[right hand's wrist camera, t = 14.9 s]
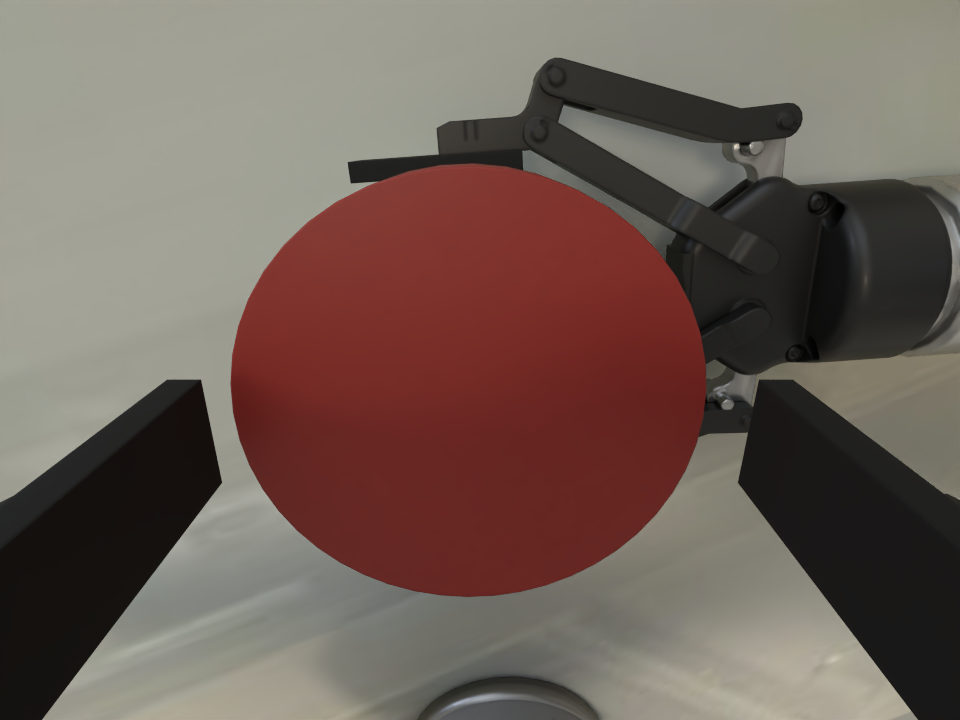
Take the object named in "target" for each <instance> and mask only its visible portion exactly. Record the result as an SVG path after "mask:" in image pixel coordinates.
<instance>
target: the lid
mask: <svg viewBox="0 0 960 720" xmlns="http://www.w3.org/2000/svg"><path fill="white" fill-rule="evenodd" d="M231 394H232V405H233V414H234V418H235V423H236V427H237V431H238V435H239V439H240V442H241V445H242V447H243V450H244V452H245V455H246V458H247V460H248V463H249V465H250V467H251V469H252V471H253V472H254V474H255V476H256V478H257V480H258V482H259V483H260V485H261V487H262V489H263V490H264V492H265V493H266V494H267V496H268V497H269V498H270V500H271V501H272V503H273V504H274V505H275V507H276V508H277V509H278V511H279V512H280V513H281V514H282V515H283V516H284V517H285V518H286V519H287V520H288V521H289V522H290V523H291V525H292V526H293V527H294V528H295V529H296V530H297V531H298V532H299V533H301V534H302V535H303V536H304V537H305V538H307V539H308V540H309V541H310V542H311V543H313V544H314V545H315V546H316V547H317V548H319V549H320V550H322V551H323V552H325V553H326V554H328V555H329V556H331V557H333V558H334V559H336V560H337V561H339V562H340V563H342V564H344V565H346V566H348V567H350V568H352V569H354V570H356V571H358V572H360V573H362V574H364V575H366V576H369V577H371V578H374V579H377V580H379V581H382V582H384V583H387V584H390V585H394V586H397V587H401V588H405V589H409V590H412V591H417V592H424V593H430V594H436V595H445V596H462V597H474V596H495V595H501V594H508V593H515V592H521V591H525V590H529V589H533V588H537V587H541V586H545V585H548V584H551V583H553V582H556V581H559V580H562V579H564V578H567V577H570V576H572V575H574V574H576V573H578V572H580V571H582V570H584V569H586V568H588V567H590V566H592V565H594V564H596V563H598V562H599V561H601V560H602V559H604V558H605V557H607V556H609V555H610V554H612V553H613V552H615V551H616V550H618V549H619V548H620V547H621V546H623V545H624V544H625V543H626V542H628V541H629V540H630V539H631V538H633V537H634V536H635V535H636V534H637V533H638V532H639V531H640V530H641V529H642V528H643V527H644V526H645V525H646V524H647V523H648V522H649V521H650V520H651V519H652V518H653V517H654V516H655V515H656V514H657V513H658V511H659V510H660V509H661V507H662V506H663V505H664V503H665V502H666V501H667V500H668V498H669V497H670V496H671V494H672V493H673V491H674V489H675V488H676V486H677V484H678V482H679V481H680V479H681V477H682V476H683V474H684V472H685V470H686V468H687V466H688V463H689V461H690V458H691V456H692V454H693V451H694V449H695V446H696V443H697V440H698V436H699V432H700V428H701V424H702V421H703V415H704V406H705V398H706V362H705V356H704V351H703V345H702V339H701V334H700V331H699V328H698V325H697V322H696V319H695V316H694V313H693V310H692V307H691V304H690V302H689V300H688V298H687V296H686V294H685V292H684V291H683V289H682V287H681V285H680V283H679V281H678V279H677V277H676V276H675V274H674V273H673V271H672V270H671V269H670V267H669V266H668V265H667V263H666V262H665V260H664V259H663V258H662V256H661V255H660V253H659V252H658V251H657V250H656V249H655V248H654V247H653V246H652V245H651V244H650V243H649V242H648V241H647V240H646V239H645V237H644V236H643V235H642V234H641V233H640V232H639V231H638V230H637V229H636V228H635V227H633V226H632V225H631V224H629V223H628V222H627V221H626V220H624V219H623V218H622V217H620V216H619V215H618V214H616V213H615V212H614V211H612V210H611V209H610V208H609V207H607V206H605V205H603V204H602V203H600V202H598V201H596V200H594V199H593V198H591V197H589V196H587V195H585V194H584V193H582V192H580V191H578V190H576V189H574V188H572V187H569V186H567V185H565V184H562V183H560V182H557V181H554V180H552V179H549V178H547V177H544V176H542V175H539V174H536V173H532V172H527V171H523V170H519V169H515V168H510V167H506V166H495V165H484V164H454V165H439V166H434V167H429V168H423V169H418V170H413V171H408V172H405V173H403V174H400V175H397V176H394V177H391V178H388V179H385V180H382V181H379V182H377V183H374V184H372V185H369V186H367V187H365V188H363V189H361V190H359V191H357V192H355V193H353V194H351V195H349V196H347V197H345V198H343V199H341V200H339V201H337V202H336V203H334V204H333V205H331V206H330V207H328V208H327V209H326V210H324V211H323V212H321V213H320V214H319V215H317V216H316V217H314V218H313V219H311V220H310V221H309V222H307V223H306V224H305V225H304V226H303V227H302V228H301V229H300V230H299V231H298V232H297V233H296V234H295V235H294V236H293V237H292V238H291V239H290V240H289V241H288V242H287V243H285V244H284V246H283V247H282V248H281V249H280V251H279V252H278V253H277V255H276V256H275V257H274V258H273V260H272V261H271V262H270V264H269V265H268V266H267V267H266V269H265V270H264V272H263V274H262V275H261V277H260V279H259V281H258V282H257V284H256V286H255V288H254V290H253V291H252V293H251V295H250V297H249V299H248V302H247V304H246V307H245V310H244V312H243V315H242V318H241V320H240V323H239V326H238V330H237V335H236V340H235V345H234V349H233V354H232V369H231Z"/></svg>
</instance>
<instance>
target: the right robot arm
mask: <svg viewBox="0 0 960 720" xmlns="http://www.w3.org/2000/svg"><path fill="white" fill-rule="evenodd" d="M221 483H222V480H221V475H220V470H219V466H218V461H217V456H216V451H215V446H214V441H213V436H212V431H211V426H210V422H209V417H208V412H207V407H206V402H205V397H204V392H203V387H202V383H201V380H166V381H165V382H164V383H162V384H161V385H160V386H158V387H157V388H156V389H154V390H153V391H152V392H150V393H149V394H148V395H146V396H145V397H144V398H142V399H141V400H140V401H138V402H137V403H136V404H134V405H133V406H132V407H131V408H129V409H128V410H127V411H125V412H124V413H123V414H121V415H120V416H119V417H117V418H116V419H115V420H113V421H112V422H111V423H109V424H108V425H107V426H105V427H104V428H103V429H101V430H100V431H99V432H97V433H96V434H95V435H93V436H92V437H91V438H90V439H88V440H87V441H86V442H84V443H83V444H82V445H80V446H79V447H78V448H76V449H75V450H74V451H72V452H71V453H70V454H68V455H67V456H66V457H64V458H63V459H62V460H60V461H59V462H58V463H56V464H55V465H54V466H53V467H51V468H50V469H49V470H47V471H46V472H45V473H43V474H42V475H41V476H39V477H38V478H37V479H35V480H34V481H33V482H31V483H30V484H29V485H27V486H26V487H25V488H23V489H22V490H21V491H19V492H18V493H17V494H16V495H14V496H12V497H10V498H8V499H6V500H4V501H2V502H0V720H42V719H43V718H44V716H45V715H46V714H47V712H48V711H49V710H50V708H51V707H52V706H53V704H54V703H55V702H56V701H57V699H58V698H59V697H60V695H61V694H62V693H63V691H64V690H65V689H66V687H67V686H68V685H69V683H70V682H71V681H72V679H73V678H74V677H75V675H76V674H77V673H78V672H79V670H80V669H81V668H82V666H83V665H84V664H85V662H86V661H87V660H88V658H89V657H90V656H91V654H92V653H93V652H94V650H95V649H96V648H97V647H98V645H99V644H100V643H101V641H102V640H103V639H104V637H105V636H106V635H107V633H108V632H109V631H110V629H111V628H112V627H113V625H114V624H115V623H116V622H117V620H118V619H119V618H120V616H121V615H122V614H123V612H124V611H125V610H126V608H127V607H128V606H129V604H130V603H131V602H132V600H133V599H134V598H135V597H136V595H137V594H138V593H139V591H140V590H141V589H142V587H143V586H144V585H145V583H146V582H147V581H148V579H149V578H150V577H151V575H152V574H153V573H154V572H155V570H156V569H157V568H158V566H159V565H160V564H161V562H162V561H163V560H164V558H165V557H166V556H167V554H168V553H169V552H170V550H171V549H172V548H173V547H174V545H175V544H176V543H177V541H178V540H179V539H180V537H181V536H182V535H183V533H184V532H185V531H186V529H187V528H188V527H189V525H190V524H191V523H192V522H193V520H194V519H195V518H196V516H197V515H198V514H199V512H200V511H201V510H202V508H203V507H204V506H205V504H206V503H207V502H208V500H209V499H210V498H211V497H212V495H213V494H214V493H215V491H216V490H217V489H218V487H219V486H220V485H221ZM738 483H739V485H740V486H741V487H742V489H743V490H744V491H745V493H746V494H747V495H748V497H749V498H750V499H751V500H752V502H753V503H754V504H755V506H756V507H757V508H758V510H759V511H760V512H761V514H762V515H763V516H764V518H765V519H766V520H767V522H768V523H769V524H770V525H771V527H772V528H773V529H774V531H775V532H776V533H777V535H778V536H779V537H780V539H781V540H782V541H783V543H784V544H785V545H786V547H787V548H788V549H789V550H790V552H791V553H792V554H793V556H794V557H795V558H796V560H797V561H798V562H799V564H800V565H801V566H802V568H803V569H804V570H805V572H806V573H807V574H808V575H809V577H810V578H811V579H812V581H813V582H814V583H815V585H816V586H817V587H818V589H819V590H820V591H821V593H822V594H823V595H824V597H825V598H826V599H827V600H828V602H829V603H830V604H831V606H832V607H833V608H834V610H835V611H836V612H837V614H838V615H839V616H840V618H841V619H842V620H843V622H844V623H845V624H846V625H847V627H848V628H849V629H850V631H851V632H852V633H853V635H854V636H855V637H856V639H857V640H858V641H859V643H860V644H861V645H862V647H863V648H864V649H865V650H866V652H867V653H868V654H869V656H870V657H871V658H872V660H873V661H874V662H875V664H876V665H877V666H878V668H879V669H880V670H881V672H882V673H883V674H884V675H885V677H886V678H887V679H888V681H889V682H890V683H891V685H892V686H893V687H894V689H895V690H896V691H897V693H898V694H899V695H900V697H901V698H902V699H903V701H904V702H905V703H906V704H907V706H908V707H909V708H910V710H911V711H912V712H913V714H914V715H915V716H916V718H917V719H918V720H960V500H958V499H956V498H954V497H952V496H950V495H948V494H943V493H942V492H941V491H939V490H938V489H937V488H935V487H934V486H933V485H931V484H930V483H929V482H927V481H926V480H925V479H923V478H922V477H921V476H919V475H918V474H917V473H915V472H914V471H913V470H911V469H910V468H909V467H907V466H906V465H905V464H904V463H902V462H901V461H900V460H898V459H897V458H896V457H894V456H893V455H892V454H890V453H889V452H888V451H886V450H885V449H884V448H882V447H881V446H880V445H878V444H877V443H876V442H874V441H873V440H872V439H870V438H869V437H868V436H867V435H865V434H864V433H863V432H861V431H860V430H859V429H857V428H856V427H855V426H853V425H852V424H851V423H849V422H848V421H847V420H845V419H844V418H843V417H841V416H840V415H839V414H837V413H836V412H835V411H833V410H832V409H831V408H829V407H828V406H827V405H826V404H824V403H823V402H822V401H820V400H819V399H818V398H816V397H815V396H814V395H812V394H811V393H810V392H808V391H807V390H806V389H804V388H803V387H802V386H800V385H799V384H798V383H796V382H795V381H794V380H759V383H758V387H757V392H756V397H755V402H754V407H753V412H752V417H751V422H750V426H749V431H748V436H747V441H746V446H745V451H744V456H743V461H742V466H741V470H740V475H739V480H738Z"/></svg>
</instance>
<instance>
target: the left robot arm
mask: <svg viewBox="0 0 960 720" xmlns="http://www.w3.org/2000/svg"><path fill="white" fill-rule="evenodd" d="M563 105H565V106H569V107H573V108H576V109H580V110H584V111H587V112H591V113H595V114H598V115H602V116H606V117H609V118H613V119H617V120H620V121H624V122H628V123H631V124H635V125H639V126H642V127H646V128H650V129H654V130H657V131H661V132H665V133H668V134H672V135H676V136H679V137H683V138H687V139H690V140H695V141H700V142H708V143H722V153H723V156H724V158H725V159H726V160H727V161H729V162H732V163H738V164H740V165H742V166H743V167H744V168H745V170H746V172H747V179H745V180H743V181H742V182H741V183H739V184H738V185H737V186H735V187H734V188H733V189H731V190H730V191H729V192H728V193H726V194H725V195H724V196H722V197H721V198H720V199H718V200H717V201H716V202H715V203H713V204H712V205H711V206H709V207H708V208H707V207H705V206H704V205H702V204H700V203H698V202H696V201H694V200H692V199H690V198H688V197H686V196H684V195H682V194H680V193H679V192H677V191H675V190H673V189H672V188H670V187H668V186H666V185H665V184H663V183H661V182H660V181H658V180H656V179H654V178H653V177H651V176H649V175H647V174H646V173H644V172H642V171H641V170H639V169H637V168H635V167H634V166H632V165H630V164H629V163H627V162H625V161H623V160H622V159H620V158H618V157H616V156H615V155H613V154H611V153H610V152H608V151H606V150H604V149H603V148H601V147H599V146H597V145H596V144H594V143H592V142H591V141H589V140H587V139H585V138H584V137H582V136H580V135H579V134H577V133H575V132H573V131H572V130H570V129H568V128H566V127H565V126H563V125H561V124H560V123H558V120H559V117H560V114H561V110H562V107H563ZM802 119H803V118H802V111H801V110H800V108H799V107H798V106H797V105H795V104H794V103H783V104H774V105H766V106H758V107H749V108H738V107H734V106H731V105H727V104H723V103H720V102H716V101H713V100H709V99H706V98H702V97H698V96H695V95H691V94H688V93H684V92H681V91H677V90H674V89H670V88H666V87H663V86H659V85H656V84H652V83H649V82H645V81H641V80H638V79H634V78H631V77H627V76H624V75H620V74H616V73H613V72H609V71H606V70H602V69H599V68H595V67H591V66H588V65H584V64H581V63H577V62H574V61H570V60H566V59H563V58H553V59H550V60H548V61H547V62H546V63H545V64H544V65H543V66H542V67H541V68H540V70H539V71H538V72H537V73H536V75H535V77H534V79H533V86H532V89H531V93H530V96H529V99H528V103H527V105H526V108H525V109H524V110H523V112H522V113H521V114H519V115H517V116H514V117H504V118H491V119H477V120H463V121H450V122H448V123H446V124H444V125H442V126H440V127H438V128H437V138H438V149H439V155H427V156H413V157H399V158H386V159H372V160H360V161H353V162H348V168H349V174H350V181H351V183H363V182H377V181H382V180H385V179H388V178H391V177H394V176H397V175H400V174H403V173H405V172H408V171H413V170H418V169H423V168H429V167H434V166H439V165H454V164H484V165H495V166H506V167H510V168H515V169H519V170H523V159H522V151H524V150H531V151H533V152H535V153H537V154H538V155H540V156H542V157H544V158H545V159H547V160H549V161H551V162H553V163H554V164H556V165H558V166H560V167H561V168H563V169H565V170H567V171H569V172H570V173H572V174H574V175H576V176H577V177H579V178H581V179H583V180H584V181H586V182H588V183H590V184H592V185H593V186H595V187H597V188H599V189H600V190H602V191H604V192H606V193H608V194H609V195H611V196H613V197H615V198H616V199H618V200H620V201H622V202H623V203H625V204H627V205H629V206H631V207H632V208H634V209H636V210H638V211H639V212H641V213H643V214H645V215H647V216H648V217H650V218H651V219H653V220H655V221H656V222H658V223H660V224H662V225H663V226H665V227H667V228H669V229H670V230H672V231H674V232H676V233H677V234H676V236H675V238H674V240H673V242H672V245H667V252H666V263H667V265H668V266H669V267H670V269H671V270H672V271H673V273H674V274H675V276H676V277H677V279H678V281H679V283H680V285H681V287H682V289H683V291H684V292H685V294H686V296H687V298H688V300H689V302H690V304H691V307H692V310H693V313H694V316H695V319H696V322H697V325H698V328H699V331H700V334H701V339H702V345H703V351H704V356H705V362H706V364H707V363H709V362H710V361H712V360H714V359H716V360H717V361H719V362H720V363H722V364H723V365H725V366H726V370H725V371H724V373H723V374H722V375H721V376H719V377H717V378H714V379H706V398H705V406H704V415H703V421H702V424H701V428H700V432H699V436H698V437H700V436H703V435H706V434H711V433H746V432H748V431H749V426H750V422H751V417H752V412H753V407H752V398H753V392H754V386H755V381H756V375H757V374H759V373H762V372H764V371H766V370H767V369H769V368H771V367H773V366H776V365H778V364H781V363H786V362H802V363H818V362H833V361H847V360H862V359H876V358H889V357H893V356H897V355H901V356H906V357H912V356H925V355H939V354H952V353H960V175H948V176H932V177H918V178H909V179H906V180H903V181H902V180H896V179H882V180H868V181H854V182H840V183H826V184H812V185H797V184H794V183H792V182H791V181H789V180H787V179H785V178H783V166H784V155H785V143H786V138H787V137H790V136H792V135H793V134H794V133H796V132H797V130H798V129H799V127H800V126H801V123H802ZM417 720H598V718H597V716H596V714H595V713H594V711H593V710H592V709H591V708H590V707H589V706H588V705H587V704H586V703H585V702H584V701H583V700H582V699H580V698H579V697H578V696H576V695H575V694H573V693H571V692H570V691H568V690H566V689H564V688H561V687H559V686H557V685H554V684H551V683H548V682H544V681H540V680H535V679H528V678H516V677H503V678H491V679H485V680H480V681H476V682H472V683H469V684H466V685H463V686H460V687H458V688H455V689H453V690H451V691H449V692H447V693H445V694H444V695H442V696H441V697H439V698H438V699H436V700H435V701H434V702H432V703H431V704H430V705H429V706H428V707H427V708H426V709H425V710H424V711H423V712H422V714H421V715H420V716H419V718H418V719H417Z"/></svg>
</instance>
